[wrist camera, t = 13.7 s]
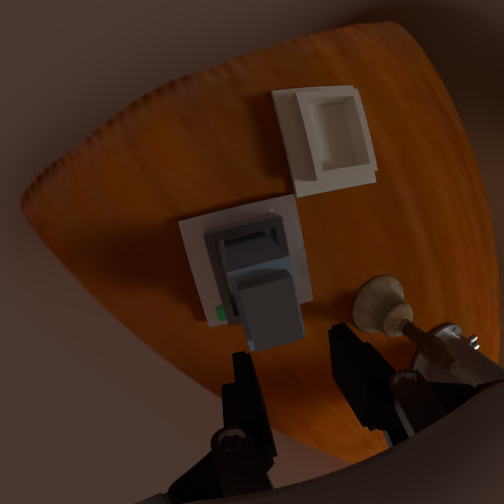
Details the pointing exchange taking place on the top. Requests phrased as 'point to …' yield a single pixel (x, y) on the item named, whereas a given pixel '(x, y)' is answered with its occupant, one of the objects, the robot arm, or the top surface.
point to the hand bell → (397, 320)
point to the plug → (264, 291)
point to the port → (232, 226)
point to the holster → (325, 138)
